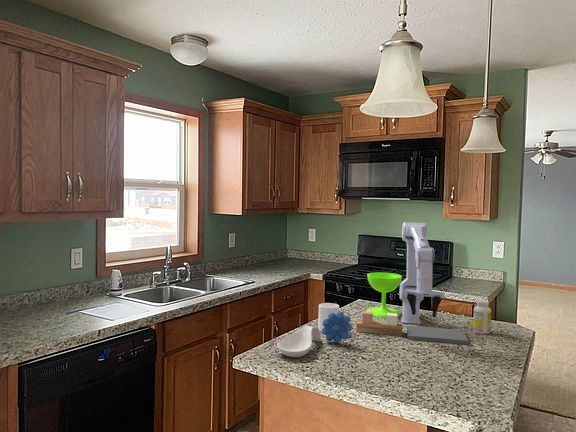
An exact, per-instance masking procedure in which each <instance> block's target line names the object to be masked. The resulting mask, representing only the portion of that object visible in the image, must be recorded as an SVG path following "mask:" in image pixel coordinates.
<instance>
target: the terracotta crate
mask: <svg viewBox="0 0 576 432" xmlns="http://www.w3.org/2000/svg"><path fill="white" fill-rule="evenodd" d="M361 320H362V323H367V324H372V323H373V321H374V316H373V312H370V311H367V310H363V311H362V319H361Z"/></svg>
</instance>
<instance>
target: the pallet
mask: <svg viewBox="0 0 576 432" xmlns="http://www.w3.org/2000/svg"><path fill="white" fill-rule="evenodd" d="M403 326H404V325H403V323H402V322H401V323H400V322H397V326H392V325H387V321H377V320H373V323H372V324H367V323H362V319H357V320H356V333H368V334H376V335H377V334H378V335H390V336H400V337H401V336H403Z"/></svg>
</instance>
